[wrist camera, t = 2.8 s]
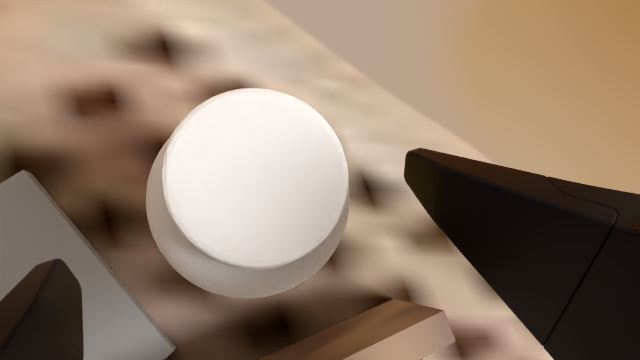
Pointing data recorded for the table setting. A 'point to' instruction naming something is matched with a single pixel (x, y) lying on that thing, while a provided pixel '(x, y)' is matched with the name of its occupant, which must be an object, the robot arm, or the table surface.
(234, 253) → the supplement bottle
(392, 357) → the brown wooden block
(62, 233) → the slate grey mat
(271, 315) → the table surface
